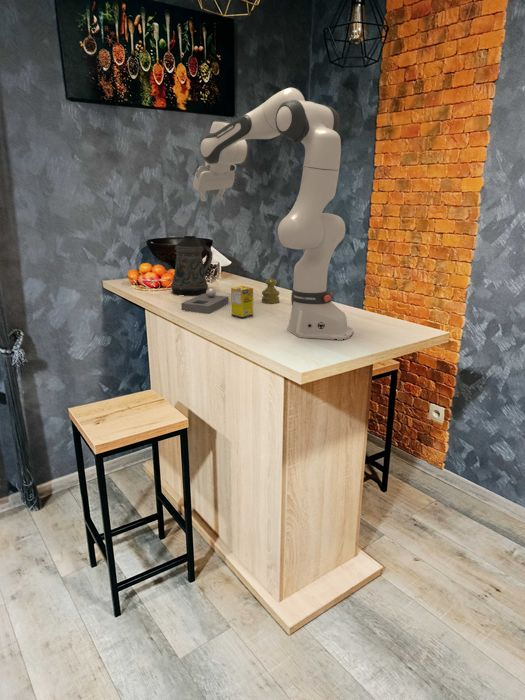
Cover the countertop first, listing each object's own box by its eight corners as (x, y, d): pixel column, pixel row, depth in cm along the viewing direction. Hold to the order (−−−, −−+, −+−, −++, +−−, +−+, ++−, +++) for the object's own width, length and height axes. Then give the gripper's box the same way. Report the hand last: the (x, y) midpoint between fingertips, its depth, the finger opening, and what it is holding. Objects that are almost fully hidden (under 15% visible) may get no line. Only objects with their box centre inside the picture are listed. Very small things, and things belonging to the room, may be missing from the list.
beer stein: (164, 294, 220) (161, 237, 212) (186, 286, 237) (184, 233, 229) (196, 297, 214) (195, 239, 206) (217, 289, 231) (216, 235, 223)
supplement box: (253, 316, 186) (253, 287, 183) (242, 319, 182) (242, 290, 179) (242, 313, 190) (242, 285, 187) (231, 316, 186) (230, 287, 182)
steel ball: (217, 296, 203) (217, 287, 202) (213, 298, 200) (213, 288, 198) (208, 295, 205) (208, 286, 203) (204, 297, 201) (204, 288, 200)
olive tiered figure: (282, 303, 207) (282, 279, 203) (265, 304, 204) (266, 280, 201) (275, 299, 213) (275, 276, 210) (259, 300, 211) (259, 277, 207)
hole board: (228, 303, 205) (228, 296, 204) (209, 313, 189) (208, 306, 188) (202, 300, 209) (202, 293, 208) (181, 310, 193) (181, 303, 192)
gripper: (203, 168, 182) (198, 205, 189) (239, 166, 197) (233, 200, 204) (191, 163, 185) (187, 199, 192) (227, 161, 200) (222, 195, 207)
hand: (211, 199), depth 198 cm, fingers open, 8 cm apart
